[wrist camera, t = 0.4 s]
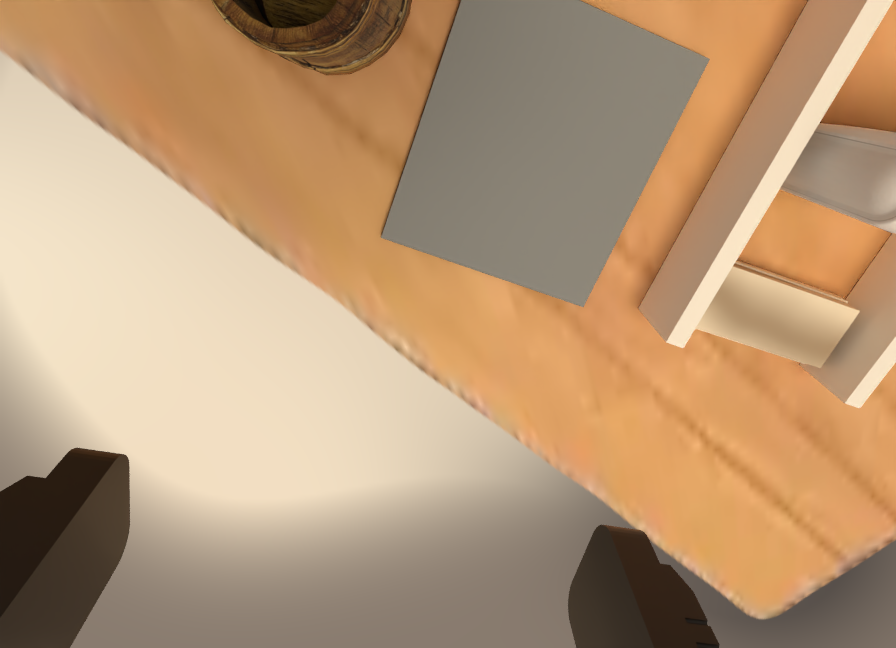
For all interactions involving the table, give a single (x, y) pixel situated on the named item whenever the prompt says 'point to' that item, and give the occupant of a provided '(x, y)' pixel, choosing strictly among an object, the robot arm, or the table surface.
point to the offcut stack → (778, 315)
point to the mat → (539, 141)
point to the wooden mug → (320, 29)
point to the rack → (756, 184)
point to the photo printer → (849, 173)
